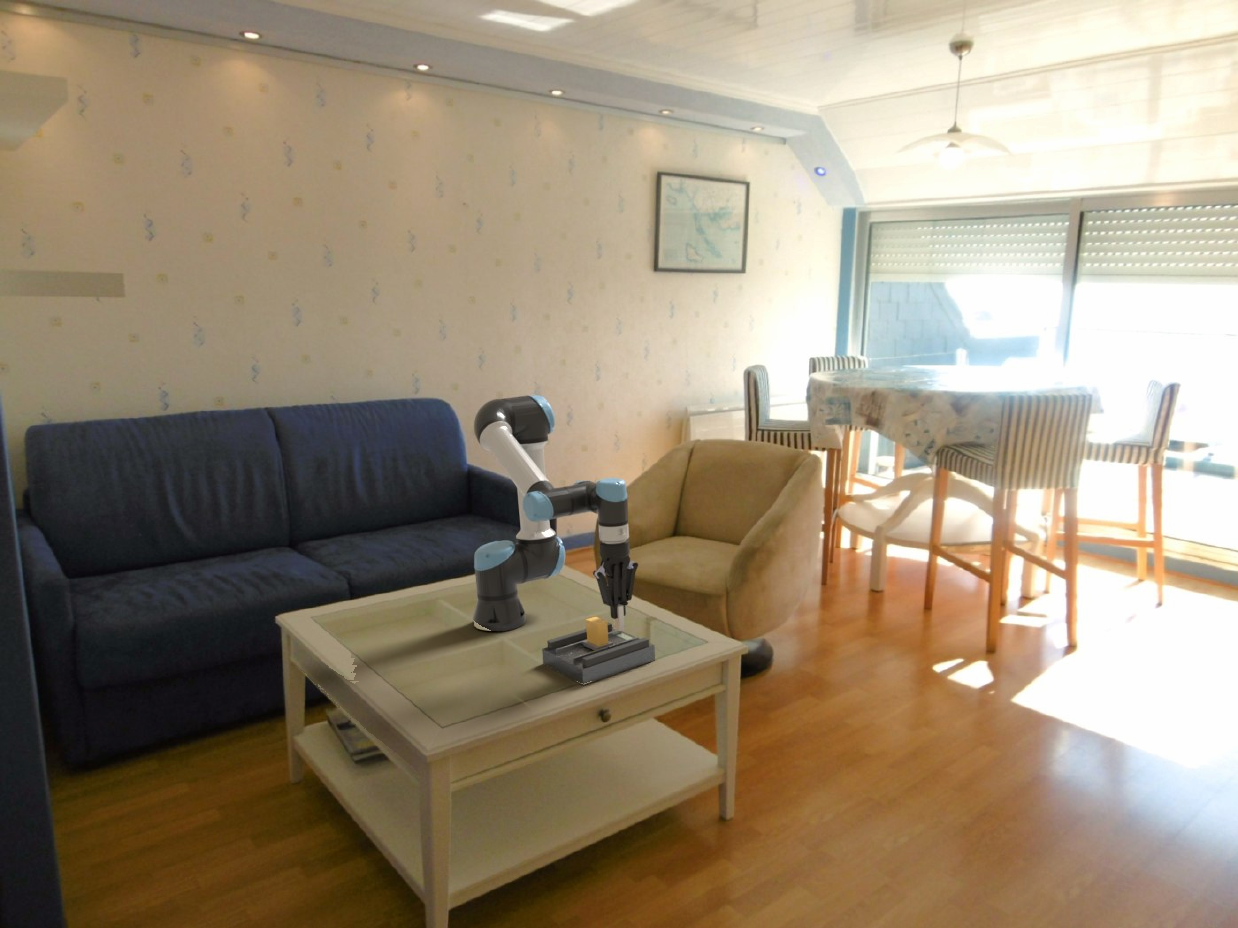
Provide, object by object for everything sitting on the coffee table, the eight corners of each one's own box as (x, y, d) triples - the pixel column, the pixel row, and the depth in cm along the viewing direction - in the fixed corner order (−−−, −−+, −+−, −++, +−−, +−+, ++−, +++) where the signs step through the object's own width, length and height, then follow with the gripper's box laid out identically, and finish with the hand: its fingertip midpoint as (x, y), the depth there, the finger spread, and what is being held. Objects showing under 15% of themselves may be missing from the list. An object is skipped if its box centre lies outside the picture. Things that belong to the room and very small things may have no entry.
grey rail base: (543, 663, 223) (541, 644, 222) (612, 641, 235) (611, 623, 235) (583, 685, 208) (582, 665, 207) (655, 660, 221) (654, 641, 220)
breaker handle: (583, 645, 222) (581, 619, 221) (599, 640, 225) (597, 615, 224) (596, 651, 217) (595, 625, 216) (613, 646, 220) (611, 620, 219)
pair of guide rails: (547, 647, 223) (547, 640, 222) (608, 628, 234) (607, 622, 233) (586, 667, 209) (586, 660, 208) (649, 646, 220) (648, 639, 220)
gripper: (602, 547, 214) (607, 639, 218) (643, 537, 222) (648, 626, 226) (584, 542, 220) (589, 631, 224) (625, 532, 228) (630, 619, 232)
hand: (619, 629), depth 225 cm, fingers closed
